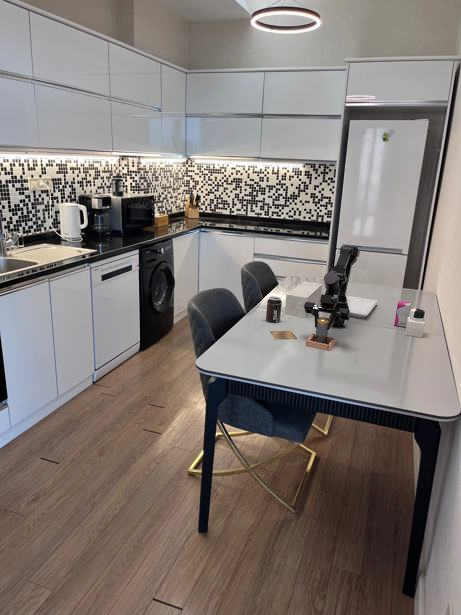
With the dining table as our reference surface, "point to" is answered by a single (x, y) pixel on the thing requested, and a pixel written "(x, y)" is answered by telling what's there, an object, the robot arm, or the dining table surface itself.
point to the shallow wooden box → (320, 345)
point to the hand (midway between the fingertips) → (321, 328)
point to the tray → (360, 306)
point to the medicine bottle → (415, 323)
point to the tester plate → (283, 335)
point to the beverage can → (273, 309)
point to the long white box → (302, 298)
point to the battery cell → (322, 330)
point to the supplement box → (402, 314)
